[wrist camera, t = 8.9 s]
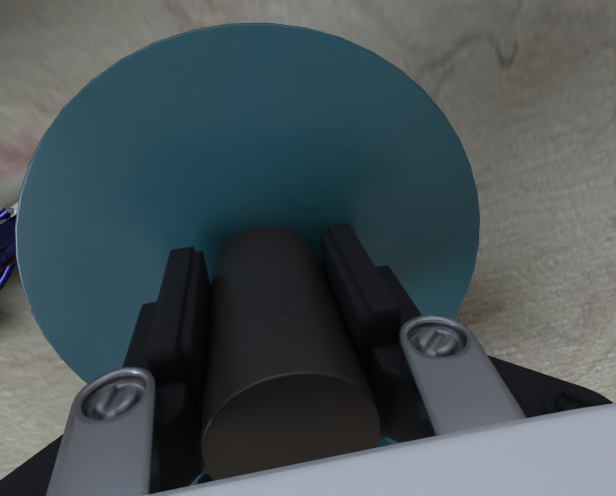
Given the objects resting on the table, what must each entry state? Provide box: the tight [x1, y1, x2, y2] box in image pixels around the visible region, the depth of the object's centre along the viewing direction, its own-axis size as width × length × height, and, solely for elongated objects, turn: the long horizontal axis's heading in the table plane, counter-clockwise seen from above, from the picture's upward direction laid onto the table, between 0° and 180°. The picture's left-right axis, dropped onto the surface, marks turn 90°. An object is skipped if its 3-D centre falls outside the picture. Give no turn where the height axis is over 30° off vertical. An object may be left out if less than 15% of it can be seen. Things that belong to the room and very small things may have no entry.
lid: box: [15, 23, 480, 481], centre depth 10 cm, size 12×12×7 cm
